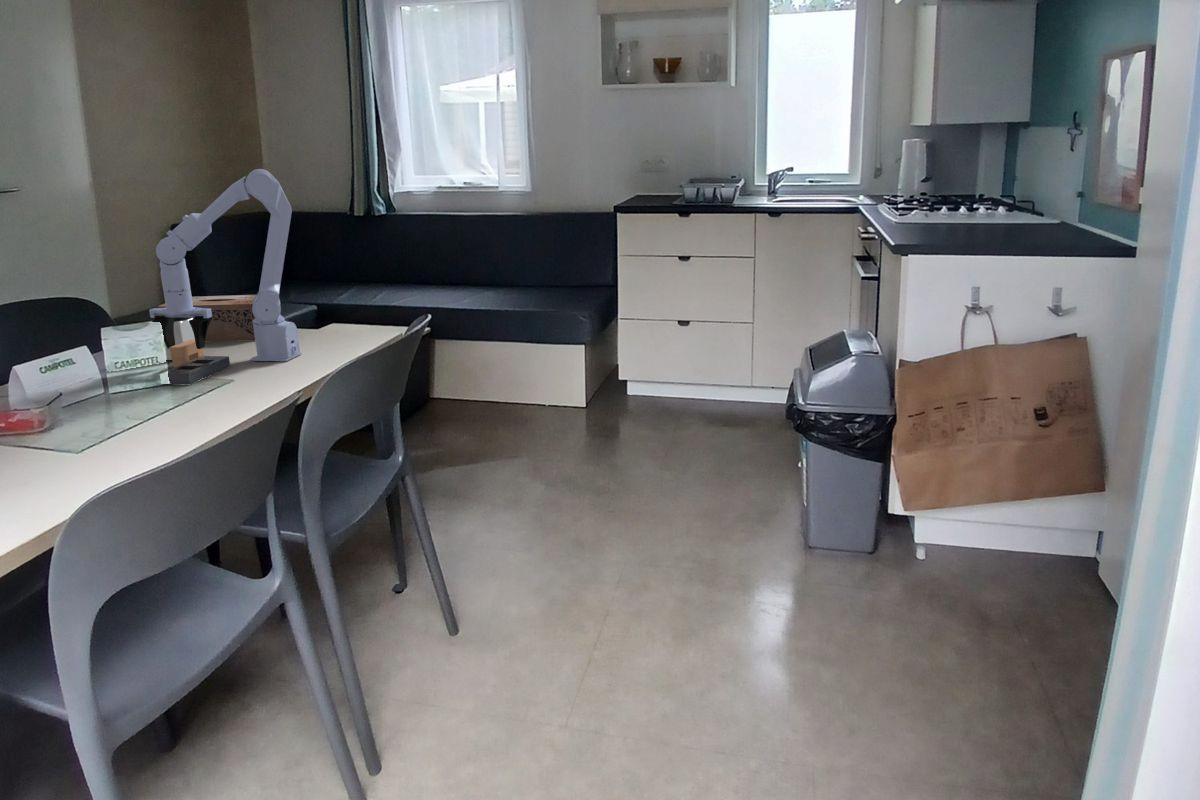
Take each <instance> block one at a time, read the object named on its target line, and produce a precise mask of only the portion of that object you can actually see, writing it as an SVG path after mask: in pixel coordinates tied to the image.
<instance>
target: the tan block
mask: <svg viewBox="0 0 1200 800" xmlns="http://www.w3.org/2000/svg"><path fill="white" fill-rule="evenodd" d="M169 348H170V353H171V358H172V365H173V368H174V367H176V366H178V365H181V364H183V363H186V362H188V361H191V360H193V359H195V358H198V357H200V356H204V353H203V351H204V348H202V349H197V347H196V343H195V340H188V341H185V342H182V343H180V344H177V345H174V346H172V347H169Z"/></svg>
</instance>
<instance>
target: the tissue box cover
mask: <svg viewBox="0 0 1200 800" xmlns="http://www.w3.org/2000/svg"><path fill="white" fill-rule="evenodd" d="M256 295H257V294H242V295H241V294H239V295H238V294H237V295H233V294H232V295H207V296H204V295H203V296H199V295H198V296H192V302H193V307H197V308H207V309H211V312H212V317H211V322H210V324H209V326H208V329H207V333H206V339H205V341H215V342H239V341H238V340H252V341H255V335H254V328H253V320H254V319H255V316H254V315H253V312H252V306H253V300H254V297H255V296H256ZM163 307H166V304H165V303H162V304H160V305H158V306H156V308H163ZM193 319H195V318H193Z"/></svg>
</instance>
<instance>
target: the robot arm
mask: <svg viewBox="0 0 1200 800" xmlns="http://www.w3.org/2000/svg"><path fill="white" fill-rule="evenodd" d="M281 185H282V184H280V181H278V179H277V178H275V176H274V175H273V174H272V173H271V172H270V171H268V170H266V169H263V168H257V169H254V170H252V171H251V172H249V174H248V175H247V176H243V177H241V178H240V179H239V180H237V181H236V182H234V183H232V184H231V185H230V186H229V187H228V188H226V190H225V191H223V192H222V193H221V194H220V195H219V196H218V197H217V198H215V200H214V201H213V202H212V203H211V204H209V206H207V207H206V209H205V210H203V211H202V212H201V213H200V212H199V213H196V212H195V213H194V212H192V213H189V215H187V214H185V215H184V216H183V217H182V218H181V219H182V221H181V222H180V223H179V224H178V225H177V226H176V227H175V228H174V229H172V230H169V229H168V231H166V235H167V237H164V238H162V239H160V240H159V242H158V243H157V245H156V247H155V254H156V257H157V259H159V267H160V271H159V272H160V278H161V284H162V290H163V296H164V304H166V308H157V307H155V308H154V307H153V308H151V309H149V311H148V312H149V317H150V318H151V319H153V320H151V323H152V322H160V323H161V325H162V329H163V335H164V342H165V344H166V346H167V349H170V348H169V347H172V346H174V345H175V338H174V317H188V318H195V319H192V320H189V323H190V325H191V327H192V330H193V333H194V337H195V343H196V347H197V349H202V348H203V349H204V348H205V347H206V345H205V344H206V342H205V339H206V333H207V329H208V326H209V324H210V322H211V317H212V312H211V309H207V308H197V307H193V302H192V297H193V296H192V290H191V283H190V277H189V276H190V275H189V271H188V268H187V265H186V264H187V263H186V259H185V256H186V255H187V254H186V253H187V251H189V252H190V251H192V250H194V248H196V247H197V246H198V245H199V244H200V243H201V242H203V240H205V238H207V237H208V236H209V235H210V234H211V233H212V232H213V231H212V224H213V223H214V222H216V220H218V219H219V218H220V217H221V216H222V215H224V213H226V212H227V211H228V210H229V209H231V208H232V207H233V206H234V205H235V204H236V203H238V202H243V201H247V200H250V199H251V196H252V197H254V198H255V199H256V200H258V201H259V202H260V203H262V205H263V206H264V207H265V209H266V210H267V211H268V212H269V213H270V218H269V224H268V230H267V236H266V237H267V239H266V245H265V251H264V256H263V263H262V268H261V269H262V270H261V277H260V284H259V288H258V292H257V293H256V294H255V295H256V296H255V297H254V300H253V306H252V312H253V315H254V316H255V319H254V320H253V328H254V335H255V340H254V342H255V349H256V355H255V356H253V357H251V358H250V359H249V361H250V362H288V361H290V360H292V359H294V358H296V357H298V356H300V355H302V353H303V351H301V349H300V340H299V334H298V333H299V332H298V328H297V325H296V324H295V322H292V321H288V320H285V317H284V316H282V314H281V312H282V307H281V300H280V290H281V289H280V288H281V284H282V283H281V282H282V275H283V270H284V263H285V257H286V256H285V255H286V250H287V246H288V245H287V243H288V238H289V232H290V225H291V219H292V213H293V212H292V210H293V208H292V206H291V203H290V201H289V200H288V197H287V196H286V194H285V192H284V190H283V188H282V186H281ZM184 314H186V315H184Z"/></svg>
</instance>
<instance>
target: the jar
mask: <svg viewBox="0 0 1200 800" xmlns="http://www.w3.org/2000/svg"><path fill="white" fill-rule="evenodd" d="M163 308H166V307H163ZM184 315H186V314H184ZM192 319H193V318H188V317H174V338H175V345H177V344H180V343H182V342H185V341H188V340H195V337H194V333H193V330H192V327H191V325H190V323H189V320H192ZM165 346H166V344H165ZM166 351H167V355H168V358H169V360H172V358H171V353H170V349H167V346H166ZM172 361H173V360H172Z"/></svg>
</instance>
